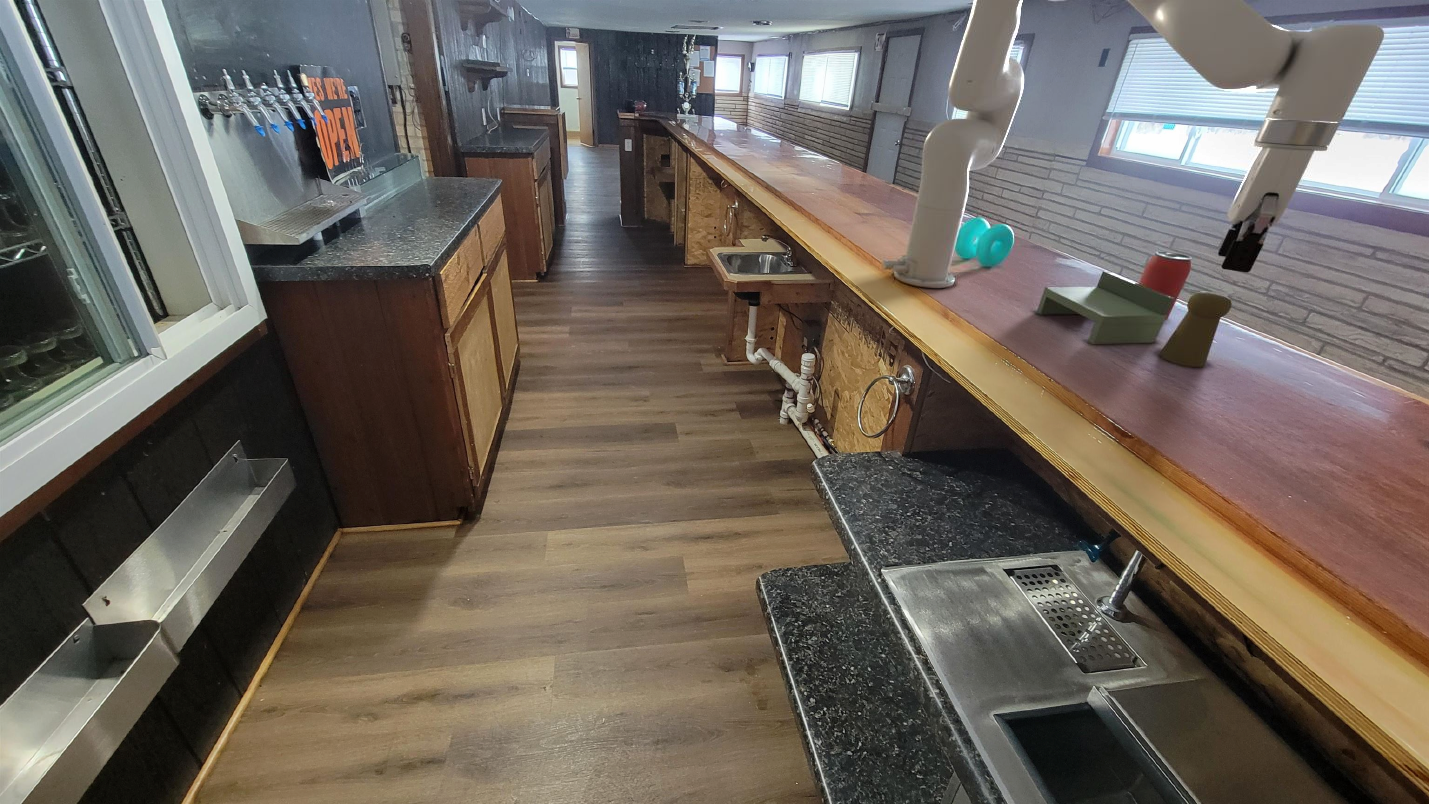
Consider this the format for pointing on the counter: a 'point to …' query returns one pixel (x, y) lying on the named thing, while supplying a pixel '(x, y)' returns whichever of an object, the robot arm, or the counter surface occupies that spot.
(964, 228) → the turquoise spool
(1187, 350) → the cork
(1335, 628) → the counter surface
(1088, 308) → the shelf
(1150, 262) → the beer can
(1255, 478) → the counter surface
